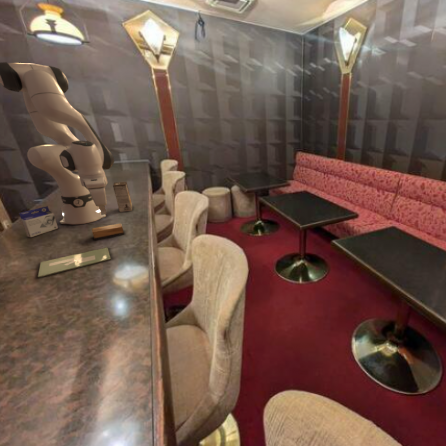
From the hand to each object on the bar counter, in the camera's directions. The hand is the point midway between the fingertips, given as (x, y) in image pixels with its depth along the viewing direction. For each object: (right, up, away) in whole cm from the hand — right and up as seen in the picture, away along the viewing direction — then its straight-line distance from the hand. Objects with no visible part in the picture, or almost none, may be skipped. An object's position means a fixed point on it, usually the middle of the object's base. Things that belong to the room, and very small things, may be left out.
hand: (102, 211), depth 111 cm
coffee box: (-17, +3, +39) cm, 43 cm away
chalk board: (+4, -20, -17) cm, 27 cm away
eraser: (-1, -11, +5) cm, 12 cm away
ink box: (-32, -10, +5) cm, 34 cm away
